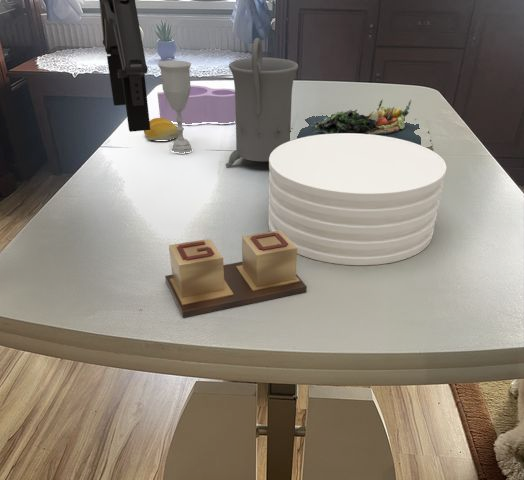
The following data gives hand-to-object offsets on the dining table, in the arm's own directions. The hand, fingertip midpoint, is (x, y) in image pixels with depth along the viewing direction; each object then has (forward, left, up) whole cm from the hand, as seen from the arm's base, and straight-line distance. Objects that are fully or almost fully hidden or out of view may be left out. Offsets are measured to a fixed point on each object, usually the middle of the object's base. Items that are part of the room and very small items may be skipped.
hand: (130, 116), depth 77 cm
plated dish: (+63, +42, -20) cm, 78 cm away
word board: (+9, -18, -20) cm, 28 cm away
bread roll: (+15, +55, -20) cm, 60 cm away
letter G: (+4, -17, -19) cm, 25 cm away
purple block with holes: (+28, +66, -20) cm, 75 cm away
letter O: (+14, -18, -19) cm, 29 cm away
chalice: (+17, +43, -20) cm, 50 cm away
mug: (+31, +28, -20) cm, 46 cm away
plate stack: (+34, -6, -20) cm, 40 cm away
